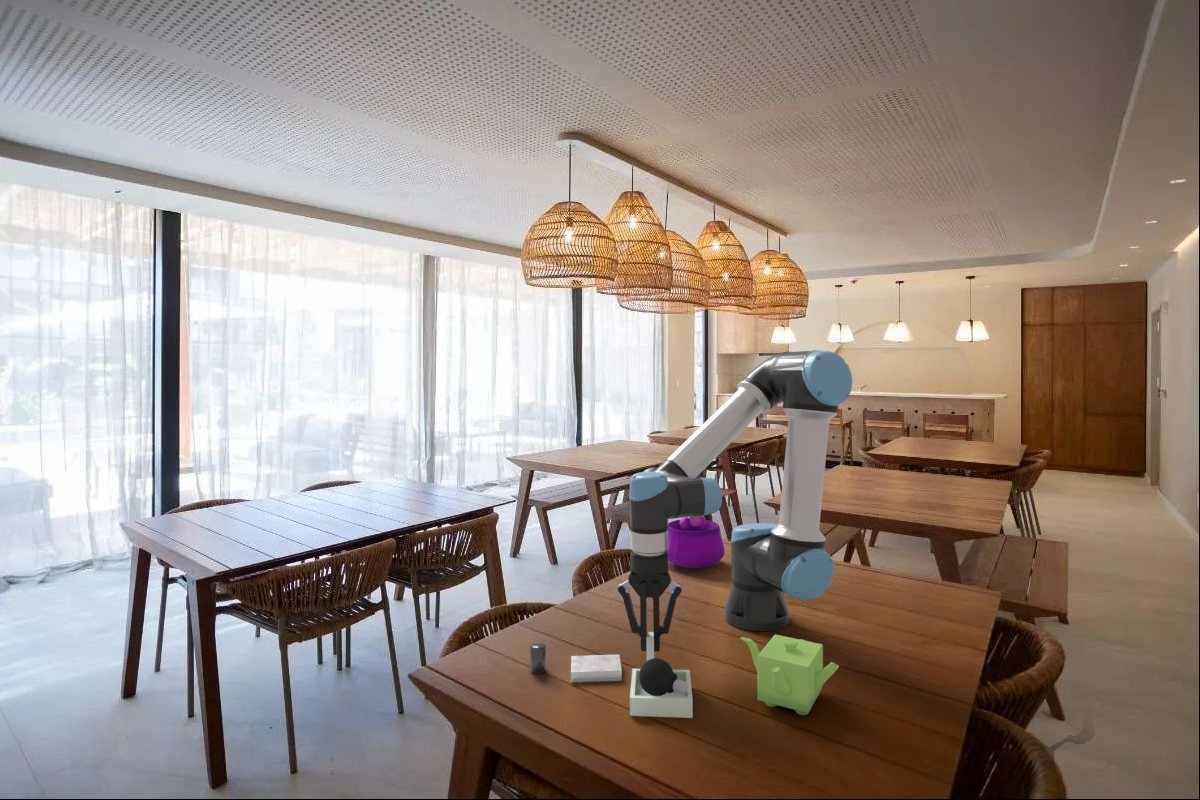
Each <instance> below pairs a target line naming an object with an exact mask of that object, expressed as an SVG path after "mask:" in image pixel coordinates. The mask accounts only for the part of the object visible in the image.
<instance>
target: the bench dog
mask: <svg viewBox="0 0 1200 800" xmlns="http://www.w3.org/2000/svg"><path fill="white" fill-rule="evenodd" d="M529 656H530V657H529V659H530V661H529V663H530V672H531V673H532V674H534V675H540V674H545V672H546V671H547V646H546V644H545V643H543V642H535V643H532V644H530V646H529Z"/></svg>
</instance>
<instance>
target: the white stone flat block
mask: <svg viewBox="0 0 1200 800" xmlns="http://www.w3.org/2000/svg"><path fill="white" fill-rule="evenodd" d="M620 656H621V655H620V654H594V655H593V654H592V655H590V654H589V655H571V656H570V682H571V683H587V682H588V683H589V682H591V683H592V682H615V681H616V682H619V681H623V676H622V675H623V674H622V673H623V672H622V671H623V670H622V663H621V657H620Z"/></svg>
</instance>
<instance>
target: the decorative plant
mask: <svg viewBox="0 0 1200 800" xmlns="http://www.w3.org/2000/svg"><path fill="white" fill-rule="evenodd" d="M698 478H700V474H699V475H698V476H697V477H696V478H695V479H698ZM721 533H722V532H721V527H720V525H719V523H717V522H715V521H711V520H708V519H706V518H705V517H704V516H693V517H683V518H680V519H677V520H676V519H675V520H672V521H669V522H668V549H667V550H666V551H667V552H668V562H670V564H673V565H677V566H680V567H683V568H688V569H703V568H706V567H711V566H714V565H716V564H717V563H719V562H720V561H721V560H722V559H723V558H724V556H725V546H724V542H723V538H722V534H721Z"/></svg>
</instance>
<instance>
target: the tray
mask: <svg viewBox="0 0 1200 800" xmlns="http://www.w3.org/2000/svg"><path fill="white" fill-rule="evenodd" d="M631 669H632V670H631V681H630V691H629V716H630V717H632V716H633V717H657V718H683V719H687V718H688V719H693V711H694V710H693V705H694V704H693V700H694V699H693V692H692V691H693V690H692V681H691V670H690V669H672V670H673V673H675V674H676V675H677V677H678V679H680V680H682V681H685V682H687V683H688V690H687V692H686V693H685V694H680V693H678V692H676V691H673V692H672V693H666V694H664V695H662V696H652V695H650V694H648V693H647V692H645V690H644V689H643V688H642V686H641V684H640V681H639V672H640V669H641V668H631Z"/></svg>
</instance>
